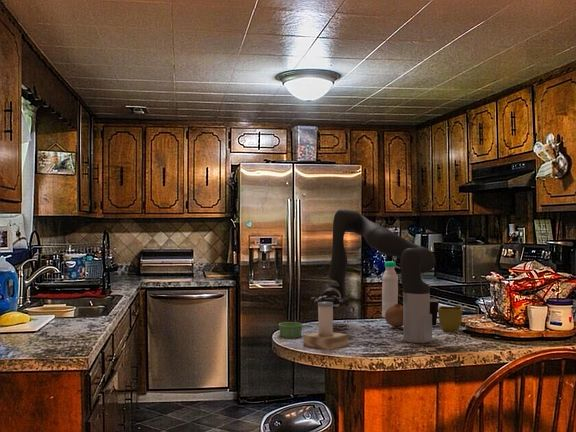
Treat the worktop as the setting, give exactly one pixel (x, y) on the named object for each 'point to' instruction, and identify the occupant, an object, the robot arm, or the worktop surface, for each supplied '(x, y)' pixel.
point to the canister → (325, 318)
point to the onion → (395, 315)
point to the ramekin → (290, 329)
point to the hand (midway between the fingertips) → (328, 304)
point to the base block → (325, 340)
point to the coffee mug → (434, 310)
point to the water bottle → (389, 287)
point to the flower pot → (450, 318)
